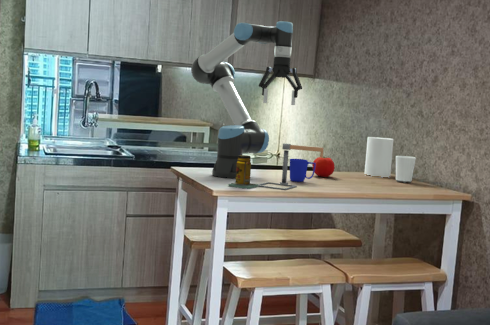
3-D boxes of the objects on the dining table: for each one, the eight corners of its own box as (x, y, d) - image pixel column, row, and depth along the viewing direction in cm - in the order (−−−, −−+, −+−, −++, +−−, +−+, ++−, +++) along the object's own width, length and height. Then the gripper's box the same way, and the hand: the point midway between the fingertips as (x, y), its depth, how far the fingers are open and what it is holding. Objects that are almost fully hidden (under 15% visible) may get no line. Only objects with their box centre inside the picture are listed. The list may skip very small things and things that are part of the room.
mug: (313, 183, 303) (315, 161, 302) (286, 181, 305) (288, 159, 304) (315, 181, 311) (316, 160, 310) (289, 179, 313) (291, 158, 312)
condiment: (230, 183, 278) (232, 154, 276) (245, 182, 284) (247, 154, 282) (243, 186, 272) (245, 156, 271) (257, 185, 278) (259, 156, 277)
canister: (370, 176, 347) (374, 138, 345) (360, 173, 360) (363, 136, 358) (394, 177, 350) (398, 139, 348) (383, 174, 363) (386, 137, 361)
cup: (398, 180, 340) (400, 155, 339) (416, 182, 335) (419, 157, 333) (390, 181, 332) (392, 156, 331) (409, 184, 326) (411, 158, 325)
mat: (228, 186, 275) (228, 183, 275) (238, 184, 285) (238, 181, 284) (248, 188, 272) (248, 186, 272) (257, 186, 281) (258, 184, 281)
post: (278, 184, 292) (281, 150, 291) (281, 183, 296) (284, 149, 294) (286, 185, 291) (288, 151, 289) (289, 184, 294) (291, 150, 293)
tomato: (334, 176, 339) (336, 156, 338) (333, 179, 327) (335, 158, 326) (312, 174, 341) (314, 154, 340) (310, 176, 328) (312, 156, 327)
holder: (255, 186, 282) (255, 185, 282) (267, 183, 294) (267, 182, 294) (285, 190, 276) (285, 188, 276) (296, 186, 288) (296, 185, 288)
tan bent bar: (322, 157, 286) (322, 147, 286) (281, 154, 290) (282, 143, 290) (323, 157, 290) (323, 146, 289) (282, 153, 294) (283, 143, 294)
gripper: (253, 54, 302) (250, 102, 304) (305, 57, 292) (302, 105, 294) (260, 56, 309) (256, 102, 311) (311, 58, 299) (307, 106, 301)
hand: (278, 104), depth 302 cm, fingers open, 13 cm apart
